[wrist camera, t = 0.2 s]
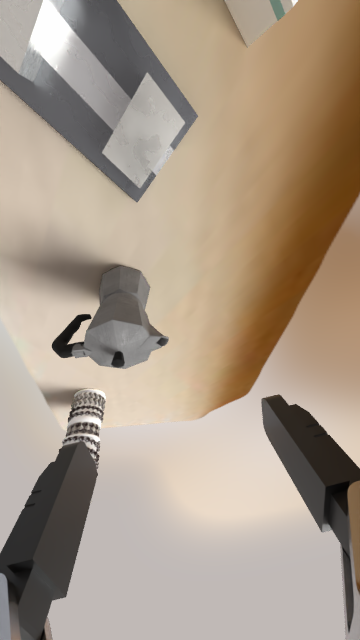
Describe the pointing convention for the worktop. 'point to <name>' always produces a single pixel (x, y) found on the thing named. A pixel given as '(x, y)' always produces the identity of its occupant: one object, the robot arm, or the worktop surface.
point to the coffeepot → (115, 324)
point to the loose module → (257, 16)
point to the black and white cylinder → (86, 420)
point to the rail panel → (95, 84)
